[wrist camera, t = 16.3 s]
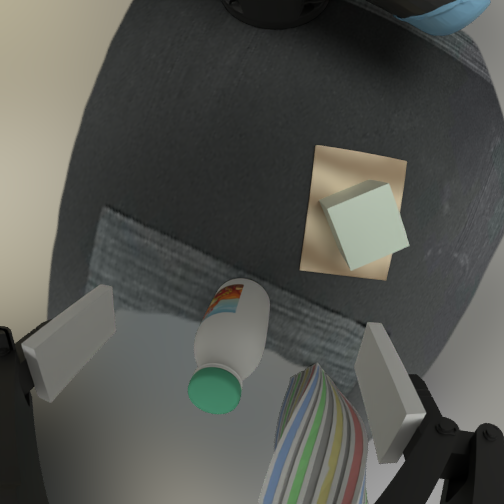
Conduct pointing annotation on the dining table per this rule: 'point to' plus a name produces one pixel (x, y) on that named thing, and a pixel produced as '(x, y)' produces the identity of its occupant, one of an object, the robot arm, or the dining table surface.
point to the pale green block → (365, 222)
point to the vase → (317, 446)
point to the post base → (330, 182)
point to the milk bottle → (229, 345)
